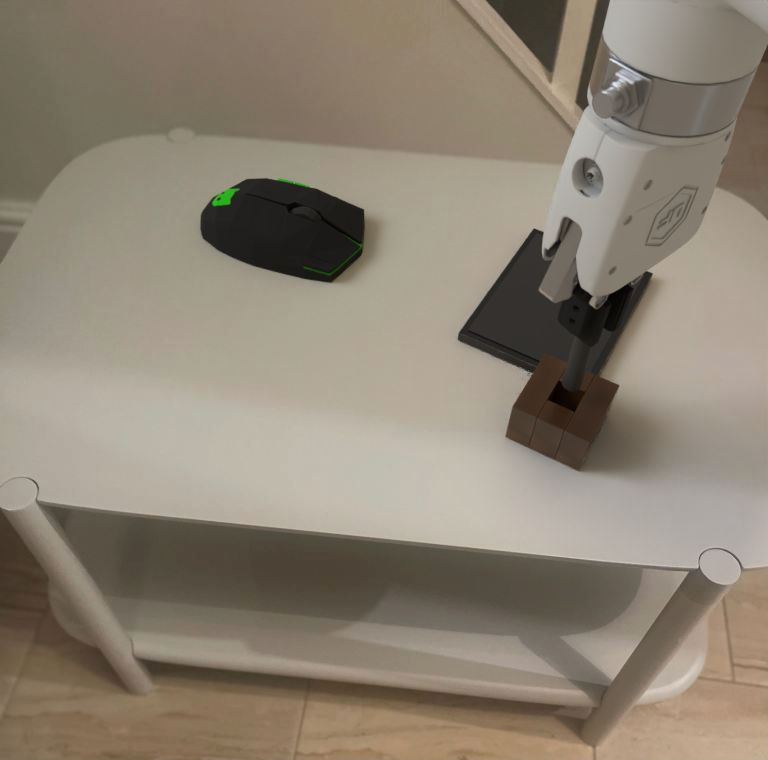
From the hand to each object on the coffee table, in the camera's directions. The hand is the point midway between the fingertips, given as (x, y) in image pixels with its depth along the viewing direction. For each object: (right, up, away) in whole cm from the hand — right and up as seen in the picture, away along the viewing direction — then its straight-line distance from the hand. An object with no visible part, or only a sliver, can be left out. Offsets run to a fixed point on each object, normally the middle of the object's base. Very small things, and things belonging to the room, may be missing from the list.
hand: (587, 324), depth 54 cm
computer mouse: (-24, +11, +23) cm, 35 cm away
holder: (0, -7, +9) cm, 12 cm away
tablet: (+2, +3, +17) cm, 18 cm away
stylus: (0, -4, +5) cm, 6 cm away
